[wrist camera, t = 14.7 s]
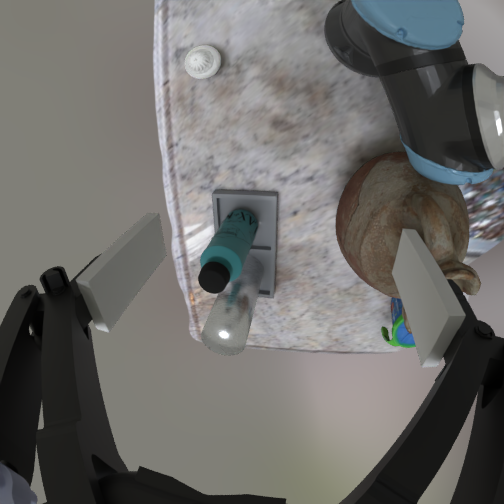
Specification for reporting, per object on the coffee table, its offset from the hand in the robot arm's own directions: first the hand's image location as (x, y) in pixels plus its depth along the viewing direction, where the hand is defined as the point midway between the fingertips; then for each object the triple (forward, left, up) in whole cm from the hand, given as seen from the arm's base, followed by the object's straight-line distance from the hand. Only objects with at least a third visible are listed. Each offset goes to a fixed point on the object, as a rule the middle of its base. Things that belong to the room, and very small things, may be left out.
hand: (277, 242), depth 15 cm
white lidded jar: (+15, -14, -37) cm, 42 cm away
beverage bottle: (+10, +15, -36) cm, 40 cm away
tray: (+9, +21, -37) cm, 43 cm away
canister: (+9, +26, -36) cm, 45 cm away
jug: (-17, +9, -37) cm, 42 cm away
